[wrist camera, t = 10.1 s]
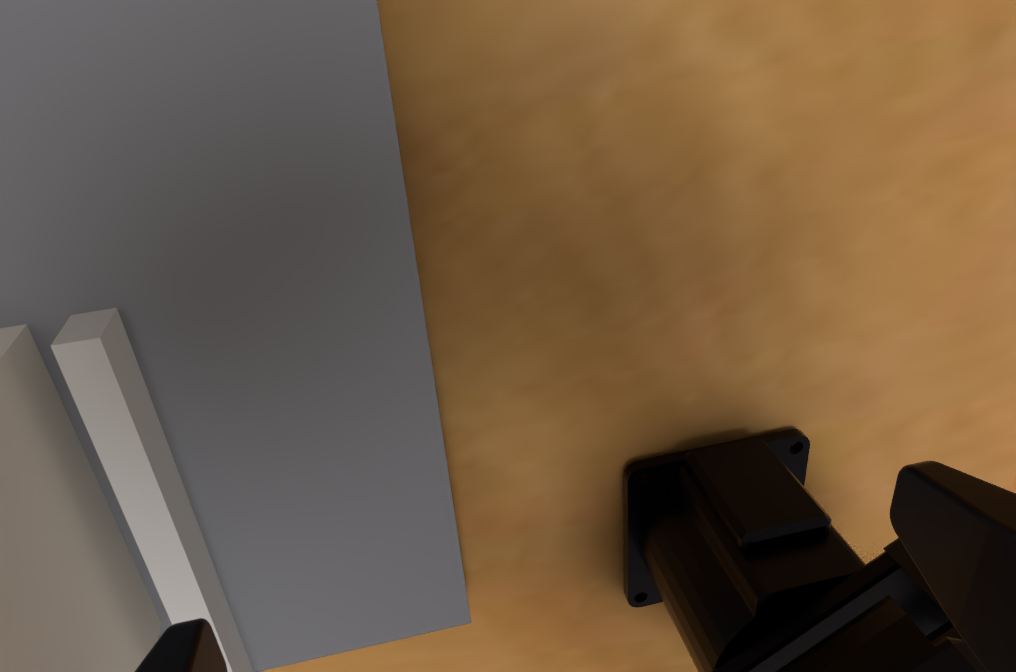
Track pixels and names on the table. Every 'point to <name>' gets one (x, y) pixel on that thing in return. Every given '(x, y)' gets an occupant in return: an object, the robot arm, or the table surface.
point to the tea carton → (59, 538)
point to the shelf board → (233, 310)
